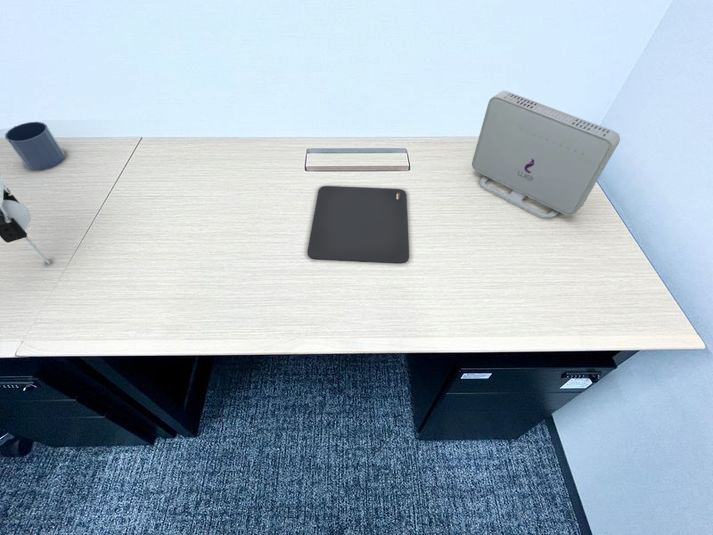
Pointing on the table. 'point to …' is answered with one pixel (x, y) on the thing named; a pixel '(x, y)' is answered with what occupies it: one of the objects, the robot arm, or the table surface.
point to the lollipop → (21, 219)
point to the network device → (541, 154)
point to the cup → (35, 145)
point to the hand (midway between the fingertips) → (16, 226)
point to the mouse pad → (360, 225)
